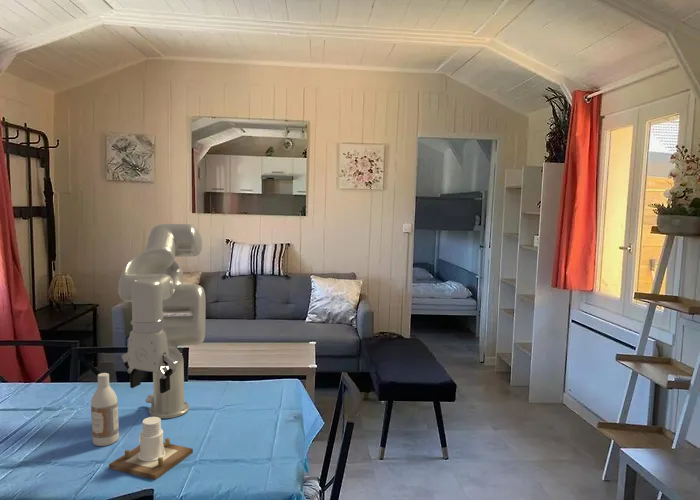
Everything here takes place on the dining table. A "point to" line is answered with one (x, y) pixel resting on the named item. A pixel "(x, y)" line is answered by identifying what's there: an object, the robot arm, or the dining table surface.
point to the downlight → (151, 440)
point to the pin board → (151, 468)
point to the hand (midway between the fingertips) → (150, 388)
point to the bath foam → (104, 413)
